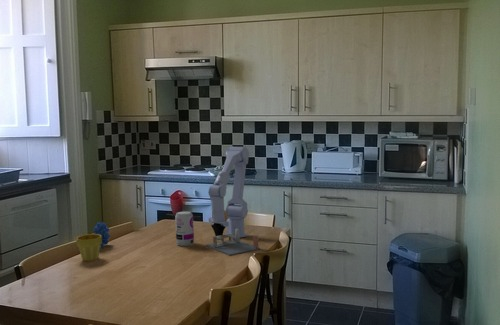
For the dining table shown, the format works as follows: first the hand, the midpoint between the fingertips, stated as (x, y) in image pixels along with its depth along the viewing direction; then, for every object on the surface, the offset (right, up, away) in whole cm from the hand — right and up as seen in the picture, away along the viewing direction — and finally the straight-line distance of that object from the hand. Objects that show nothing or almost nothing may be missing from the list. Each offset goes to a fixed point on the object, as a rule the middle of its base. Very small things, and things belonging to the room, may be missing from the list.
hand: (219, 239), depth 241 cm
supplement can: (-16, -3, +3) cm, 17 cm away
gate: (+3, -2, -4) cm, 5 cm away
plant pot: (-55, -6, -16) cm, 57 cm away
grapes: (-54, -4, +3) cm, 55 cm away
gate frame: (+6, -3, -6) cm, 9 cm away
